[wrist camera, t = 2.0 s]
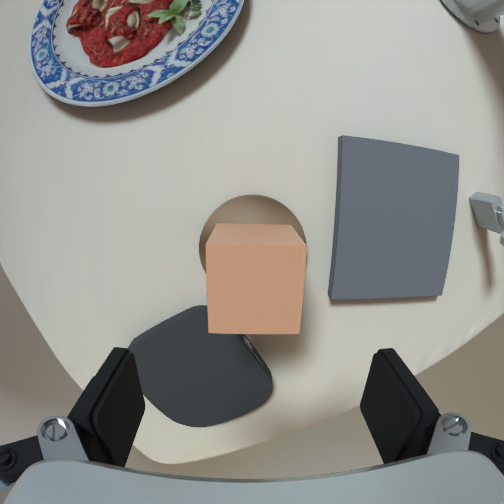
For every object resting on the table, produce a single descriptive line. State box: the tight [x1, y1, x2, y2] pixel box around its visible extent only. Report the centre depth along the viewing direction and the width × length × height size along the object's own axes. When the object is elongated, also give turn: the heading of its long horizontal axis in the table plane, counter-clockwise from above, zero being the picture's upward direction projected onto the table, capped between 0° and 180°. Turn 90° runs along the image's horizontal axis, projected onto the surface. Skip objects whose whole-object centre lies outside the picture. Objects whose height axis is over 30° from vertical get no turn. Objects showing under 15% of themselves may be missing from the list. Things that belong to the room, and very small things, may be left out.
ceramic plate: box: [28, 0, 244, 107], centre depth 21 cm, size 26×26×3 cm
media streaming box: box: [128, 305, 272, 427], centre depth 33 cm, size 15×15×3 cm
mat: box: [328, 136, 459, 300], centre depth 29 cm, size 16×14×2 cm
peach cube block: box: [206, 223, 307, 334], centre depth 22 cm, size 6×6×7 cm
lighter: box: [469, 192, 504, 246], centre depth 26 cm, size 7×2×8 cm, turn 34°
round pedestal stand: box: [199, 195, 306, 272], centre depth 25 cm, size 10×10×10 cm
